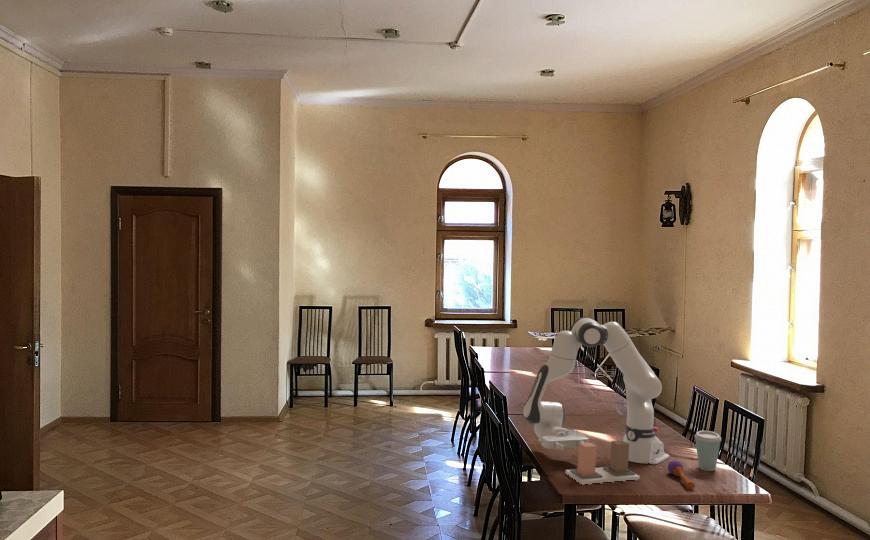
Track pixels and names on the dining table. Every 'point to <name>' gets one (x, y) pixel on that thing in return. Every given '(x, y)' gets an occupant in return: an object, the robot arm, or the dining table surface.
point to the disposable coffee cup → (707, 449)
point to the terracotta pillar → (586, 459)
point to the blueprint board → (612, 473)
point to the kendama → (680, 473)
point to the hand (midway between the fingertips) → (574, 447)
